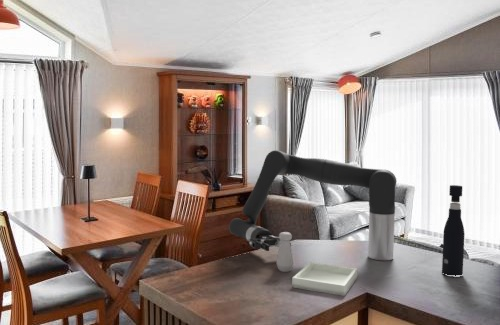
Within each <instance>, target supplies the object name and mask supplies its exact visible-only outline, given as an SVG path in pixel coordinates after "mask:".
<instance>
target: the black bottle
mask: <svg viewBox="0 0 500 325" xmlns="http://www.w3.org/2000/svg"><path fill="white" fill-rule="evenodd" d="M448 192H449V195H448V196H451V200H450V201H451V202H450V204H449V209H448V217H447V220H446V222H445V224H444V228H443V235H442V236H443V240H442V259H441V260H442V261H441V262H442V264H441V265H442V267H441V274H442V273H444V274H447V275H455V276H456V275H462V274H463V275H464V255H465V251H464V250H465V228H464V223H463V220H462V209H461V208H462V206H461V203H460V202H461V201H460V198H461V197H462V196H463V186H462V185H458V184H457V185H455V184H451V185H449V191H448Z"/></svg>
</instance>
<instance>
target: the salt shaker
mask: <svg viewBox="0 0 500 325" xmlns="http://www.w3.org/2000/svg"><path fill="white" fill-rule="evenodd" d="M278 237H279V239H280V240H281V241H280V247H278V252H277V253H278V254H277V258H276V259H277V260H276V266H277V269H278V271H280V272H284V273H288V272H289V273H290V272H291V270H292V269H293V267H294V258H293V252H292V245H291V246H290V243H291V240H292V237H293V235H292V234H291V232H288V231H283V232H280V233H279V234H278Z"/></svg>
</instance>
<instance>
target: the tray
mask: <svg viewBox="0 0 500 325" xmlns="http://www.w3.org/2000/svg"><path fill="white" fill-rule="evenodd" d="M291 279H292V280H291V282H292V283H291V284H292V285H291V286H292V288H293V289H294V288H295V289H301V290H305V291H306V290H307V291H312V292H317V293H318V292H319V293H323V294H324V293H325V294H329V295H330V294H331V295H336V296H342V297H344V296H346V294H347V293H348V292H349V290H350V289H351V287H352V286H353V284H354V283H355V282H356V280H357V279H358V268H355V267H353V268H352V267H348V266H347V267H346V266H341V265H340V266H339V265H334V264H333V265H332V264H326V263H320V262H319V263H318V262H311V261H310V262H309V263H308V264H306V265H305V266H304V267H303V268H302V269H300V270H299V271H298V272H297V273H296V274H295V275H293V276H292V278H291Z"/></svg>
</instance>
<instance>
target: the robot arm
mask: <svg viewBox="0 0 500 325" xmlns="http://www.w3.org/2000/svg"><path fill="white" fill-rule="evenodd" d="M280 174H281V175H294V176H300V177H304V178H306V179H308V180H309V179H310V180H312V181H316V182H319V183H324V184H329V185H335V186H354V187H355V186H357V187H362V188H366V189H368V207H369V208H368V210H369V211H368V212H369V214H368V215H369V216H368V222H369V223H368V246H367V257H368V258H369V259H371V260H376V261H391V260H393V259H394V249H395V248H394V247H395V222H396V221H395V217H396V216H395V215H396V201H395V200H396V199H395V198H396V186H397V178H396V175H395V174H394V173H393V172H392V171H391V170H389V169H383V168H382V169H379V168H367V167H360V166H355V165H353V164H349V163H345V162H341V161H338V160H337V161H336V160H330V159H325V158H308V157H307V158H306V157H300V156H296V155H292V154H290V153H287V152H284V151H281V150H272V151H269V153H268V154H267V155H266V157H265V158H264V161H263V164H262V166H261V169H260V173H259V176H258V177H257V180H256V182H255V184H254V186H253V189H252V190H251V192H250V195H249V196H248V199H247V200H246V202H245V203H244V205H243V208H242V210H241V211H242V214H243V215H245V216H246V217H247V218H248V219H247V220H244V219H241V218H239V217H235V218H233V219H232V220H230V222H229V224H228V230H229V232H230V234H232V235H233V236H236V237H239V238H242V239H243V240H244V241H246V242H248V243H249V247H250V248H253V249H254V250H258V249H259V250H264V251H265V252H270V248H271V247H276V248H279V247H280V241H281V240H280V239H279V236H274V235H273V234H272V232H271V231H270V230H269V229H266V228H264V227H261V226H260V225H259V226H258V225H257V222H258V217H259V215H260V214H261V211H262V209H263V208H264V207H265V204H266V201H267V199H268V195H269V192H270V189H271V187H272V185H273V183H274V181H275V179H276V178H277V177H278V175H280ZM290 246H291V247H292V242H290Z"/></svg>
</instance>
